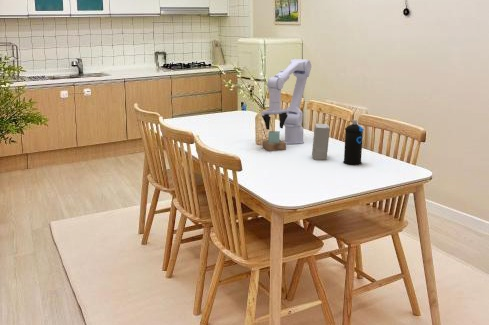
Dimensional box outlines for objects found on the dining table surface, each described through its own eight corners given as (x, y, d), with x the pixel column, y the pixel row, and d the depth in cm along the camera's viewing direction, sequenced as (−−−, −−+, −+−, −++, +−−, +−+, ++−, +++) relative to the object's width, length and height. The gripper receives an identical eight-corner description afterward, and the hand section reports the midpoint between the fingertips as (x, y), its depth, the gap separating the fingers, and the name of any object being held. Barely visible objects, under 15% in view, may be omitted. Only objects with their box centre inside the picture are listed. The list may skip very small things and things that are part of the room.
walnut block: (278, 146, 272) (278, 139, 271) (285, 150, 264) (286, 143, 263) (262, 148, 269) (262, 140, 268) (269, 152, 261) (269, 144, 260)
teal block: (279, 141, 267) (279, 131, 266) (278, 143, 262) (278, 133, 261) (269, 140, 268) (269, 131, 267) (268, 142, 263) (268, 133, 262)
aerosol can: (341, 164, 239) (343, 120, 233) (345, 159, 246) (347, 117, 241) (359, 166, 236) (362, 122, 230) (362, 161, 243) (365, 118, 238)
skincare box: (311, 155, 254) (312, 123, 249) (326, 155, 254) (327, 123, 249) (313, 160, 246) (314, 126, 241) (328, 160, 245) (330, 126, 241)
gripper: (284, 99, 266) (283, 125, 270) (258, 101, 261) (258, 128, 264) (290, 101, 260) (290, 128, 264) (264, 103, 254) (264, 131, 258)
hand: (274, 128), depth 264 cm, fingers open, 7 cm apart
